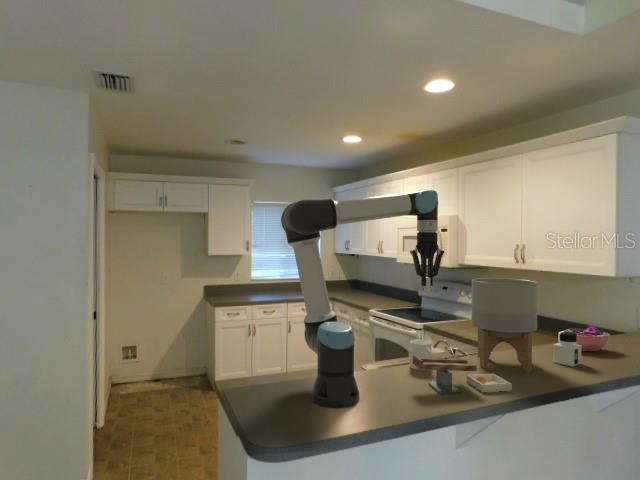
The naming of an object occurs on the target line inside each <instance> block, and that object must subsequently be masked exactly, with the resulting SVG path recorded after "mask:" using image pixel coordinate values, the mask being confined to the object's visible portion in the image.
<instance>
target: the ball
mask: <svg viewBox="0 0 640 480" xmlns="http://www.w3.org/2000/svg"><path fill="white" fill-rule="evenodd" d="M476 380H477V381H479V382H480V383H482V384H486V379H485V377H483V376H478V377H477V379H476Z"/></svg>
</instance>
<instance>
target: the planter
mask: <svg viewBox="0 0 640 480" xmlns="http://www.w3.org/2000/svg"><path fill="white" fill-rule="evenodd" d="M470 324H471V325H472V326H473V327H475V328H477V357H478V358H479V367H480V368H482V369H486V368H489V361H490V358H491V354H492V352H493V350H494V349H495V348H496V346H498V345H499V344H500V343H503V342H504V343H506V344H508V345H509V346H511V347H512V348H513V349H514V351H515V352H516V357H517V359H516V360H517V361H520V362H521V366H522V371H523V372H527V373H531V372H533V371H532V370H533V364H532V363H533V362H532V361H533V333H532V332H535V331H537V330H538V281H535V280H529V279H522V278H521V279H520V278H508V277H507V278H504V277H503V278H502V277H499V278H498V277H479V278H472V279H471V323H470Z"/></svg>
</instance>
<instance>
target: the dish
mask: <svg viewBox="0 0 640 480" xmlns="http://www.w3.org/2000/svg"><path fill="white" fill-rule="evenodd" d="M478 376H483V377H485V379H486V384H482V383H480V382H479V381H477V380H476V379H477V377H478ZM466 383H467V384H468V385H470V386H472V387H473V388H475V389H476V390H477V391H479V392H481V393H482V394H484V393H483V392H487V393H500V392H499V391H506V392H512V391H513V390H512V389H513V387H512V386H513V385H512V383H511V382H509V381H507V380H506V379H505V378H503V377H501V376H499V375H498V374H496V373H482V374H481V373H480V374H479V373H478V374H476V373H475V374H466Z"/></svg>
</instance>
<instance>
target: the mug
mask: <svg viewBox="0 0 640 480" xmlns="http://www.w3.org/2000/svg"><path fill="white" fill-rule="evenodd" d="M413 355H416V356H417V357H418V358H426V359H434V357H433V352H432V341H430V340H426V339H412V340H410V342H409V367H410V368H411V369H413V370H415V371H419V372H420V371H421V372H423V371H426V370H420V369H419V368H417V367H416V366H415V365H414V364H413Z"/></svg>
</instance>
